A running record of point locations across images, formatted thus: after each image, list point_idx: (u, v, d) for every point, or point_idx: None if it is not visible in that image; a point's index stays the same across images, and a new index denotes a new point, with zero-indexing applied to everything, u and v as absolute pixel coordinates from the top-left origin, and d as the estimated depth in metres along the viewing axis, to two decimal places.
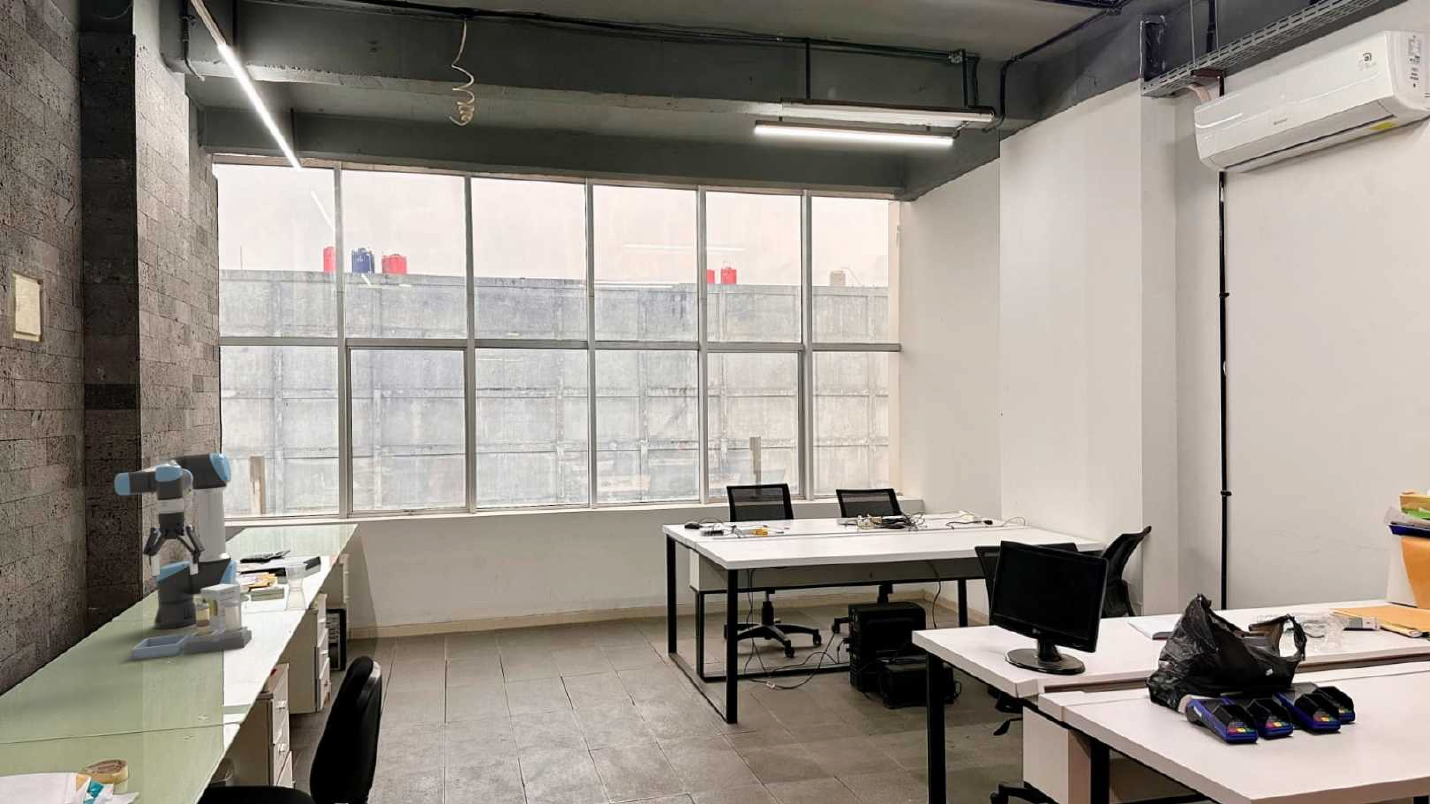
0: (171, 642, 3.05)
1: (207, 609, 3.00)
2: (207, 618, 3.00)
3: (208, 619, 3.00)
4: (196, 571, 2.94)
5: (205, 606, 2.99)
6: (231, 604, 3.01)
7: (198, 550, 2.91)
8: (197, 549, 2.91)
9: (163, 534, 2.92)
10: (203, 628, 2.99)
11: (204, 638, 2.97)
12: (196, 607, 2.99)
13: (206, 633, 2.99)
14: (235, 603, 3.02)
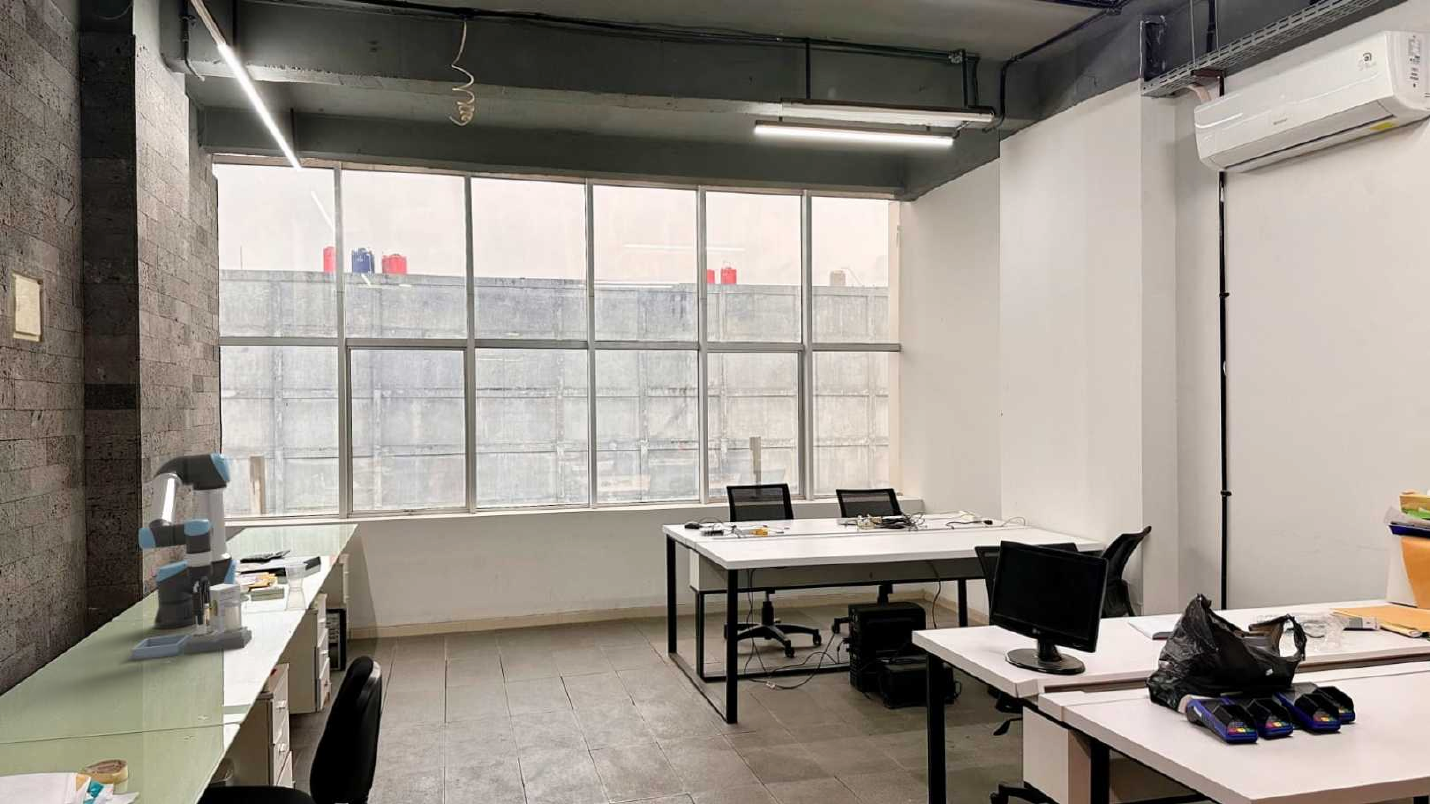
0: (171, 642, 3.05)
1: (207, 609, 3.00)
2: (207, 618, 3.00)
3: (208, 619, 3.00)
4: (203, 631, 2.98)
5: (205, 606, 2.99)
6: (231, 604, 3.01)
7: (193, 613, 2.95)
8: None
9: None
10: None
11: (204, 638, 2.97)
12: None
13: (206, 633, 2.99)
14: (235, 603, 3.02)
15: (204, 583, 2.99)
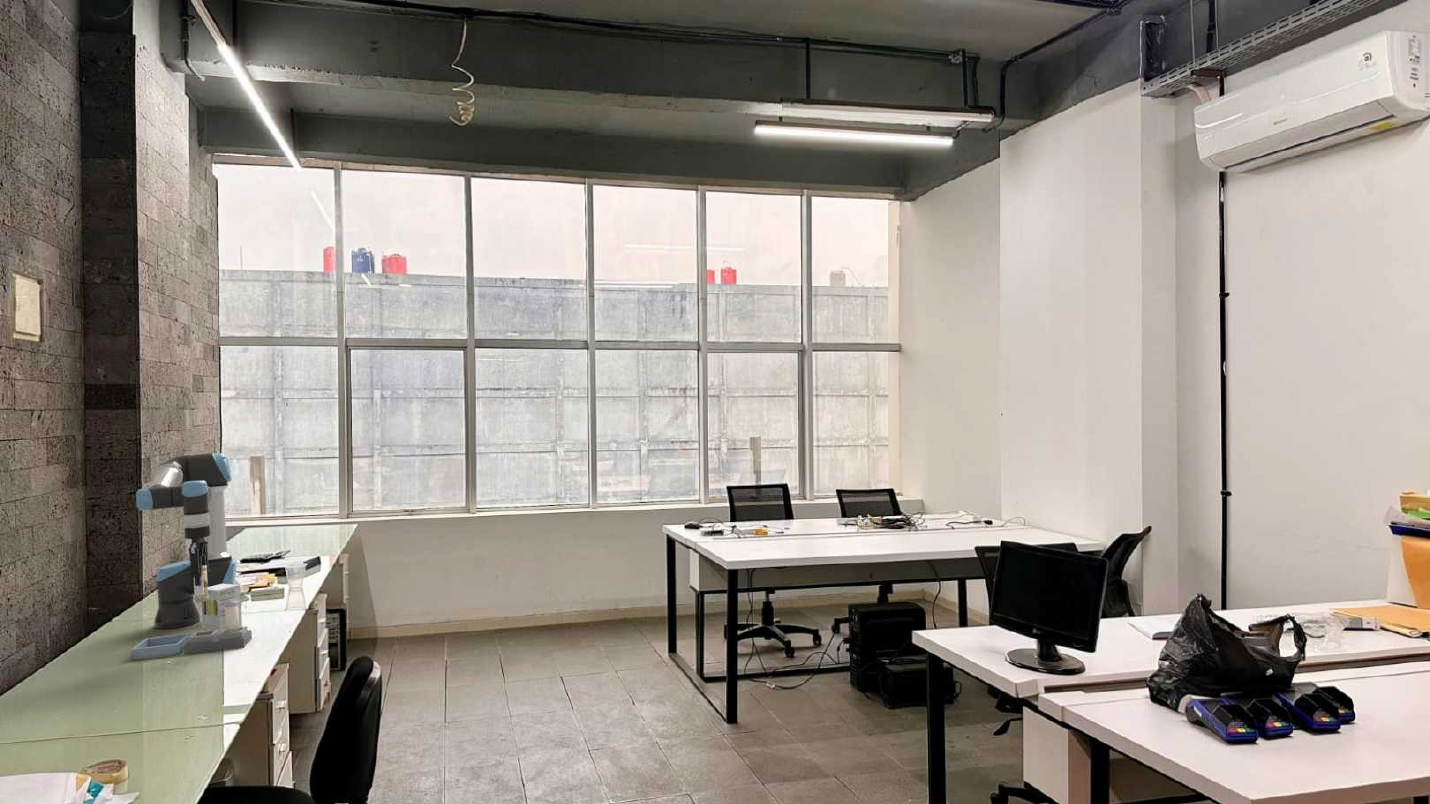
0: (171, 642, 3.05)
1: (205, 571, 3.00)
2: (205, 580, 3.00)
3: (206, 581, 3.00)
4: (201, 593, 2.98)
5: (203, 568, 2.99)
6: (231, 604, 3.01)
7: (191, 574, 2.95)
8: None
9: None
10: None
11: (204, 638, 2.97)
12: None
13: (204, 595, 2.99)
14: (235, 603, 3.02)
15: (202, 544, 2.99)
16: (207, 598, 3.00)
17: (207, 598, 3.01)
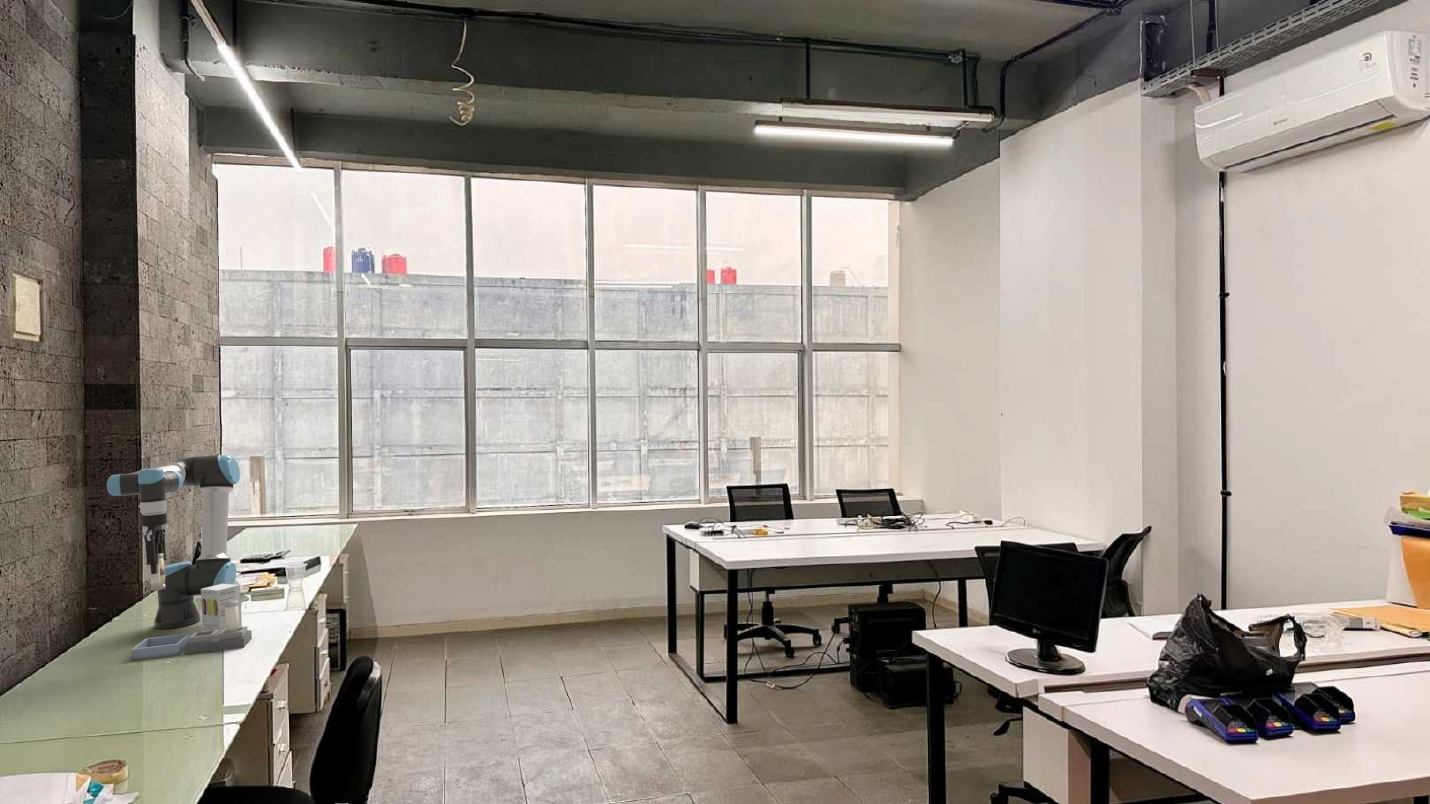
0: (171, 642, 3.05)
1: (161, 559, 2.98)
2: (161, 568, 2.98)
3: (162, 569, 2.98)
4: (157, 581, 2.96)
5: (159, 555, 2.97)
6: (231, 604, 3.01)
7: None
8: None
9: None
10: None
11: (204, 638, 2.97)
12: None
13: (160, 583, 2.97)
14: (235, 603, 3.02)
15: (158, 532, 2.97)
16: (164, 586, 2.98)
17: (164, 586, 2.98)
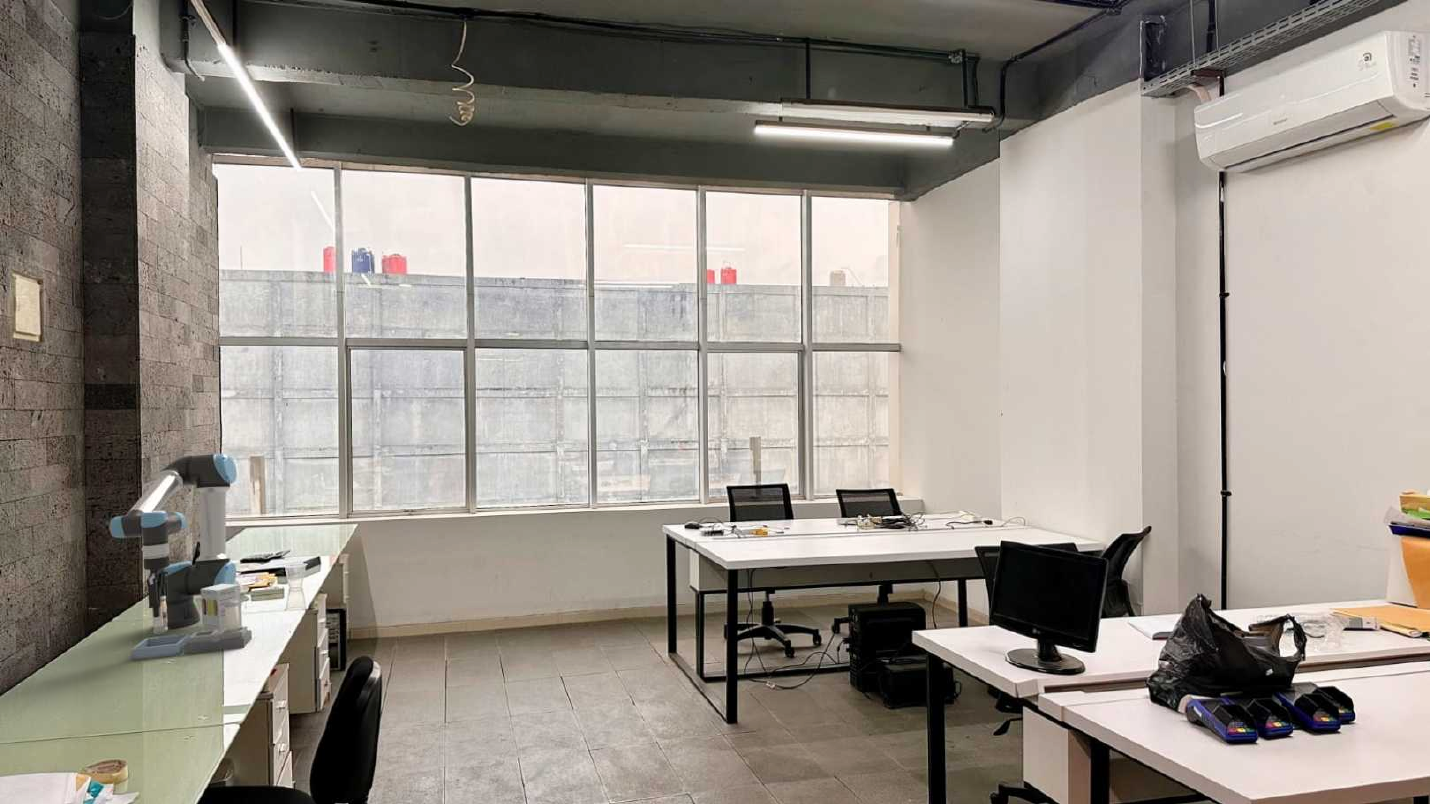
0: (171, 642, 3.05)
1: (164, 601, 2.98)
2: (164, 610, 2.98)
3: (165, 612, 2.98)
4: (159, 624, 2.96)
5: (161, 598, 2.97)
6: (231, 604, 3.01)
7: None
8: None
9: None
10: None
11: (204, 638, 2.97)
12: None
13: (162, 626, 2.97)
14: (235, 603, 3.02)
15: (161, 575, 2.97)
16: (166, 629, 2.98)
17: (166, 629, 2.99)
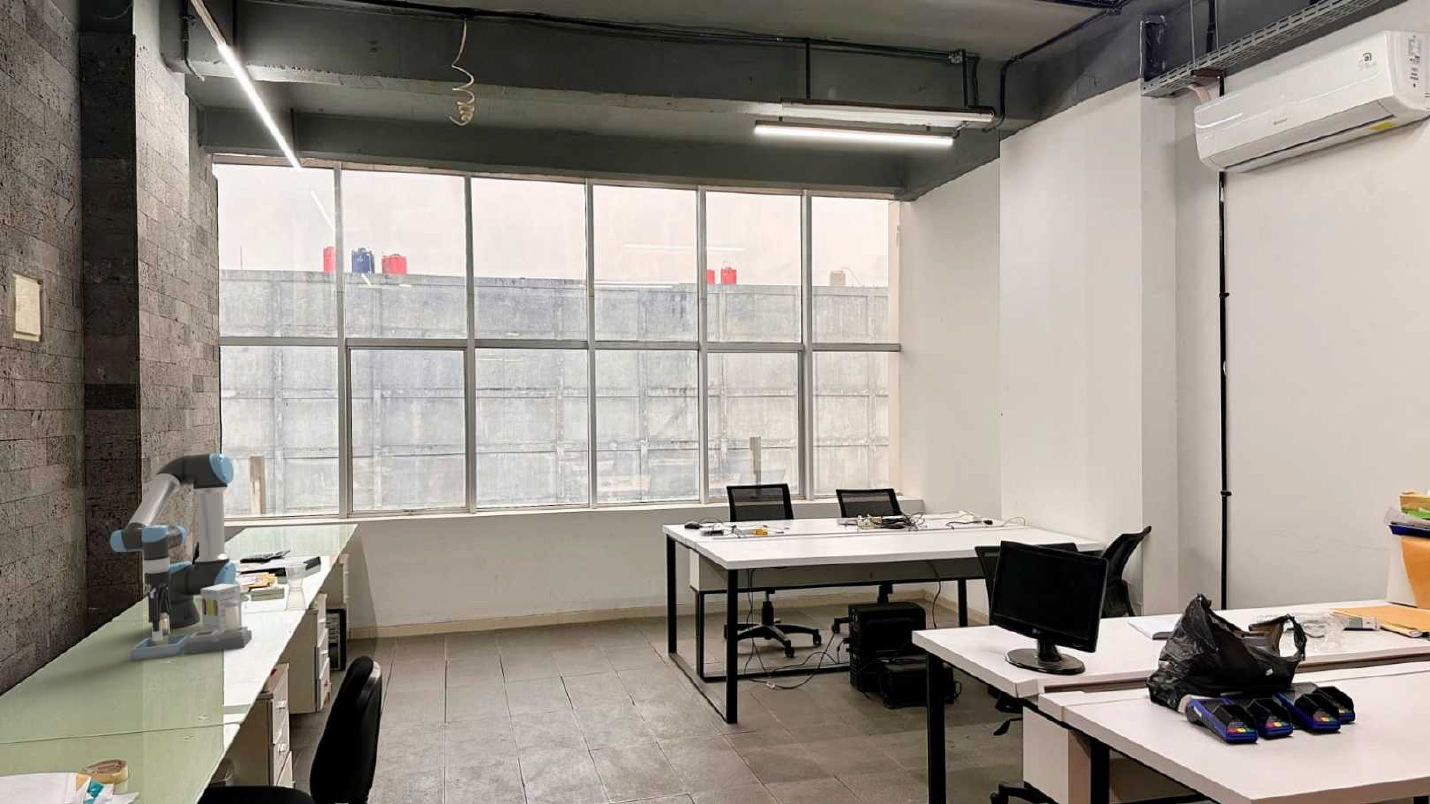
0: (171, 642, 3.05)
1: (165, 619, 2.98)
2: (165, 628, 2.98)
3: (166, 629, 2.99)
4: (159, 638, 2.95)
5: (163, 616, 2.97)
6: (231, 604, 3.01)
7: (149, 619, 2.92)
8: None
9: None
10: None
11: (204, 638, 2.97)
12: None
13: (164, 643, 2.98)
14: (235, 603, 3.02)
15: (162, 589, 2.97)
16: None
17: None
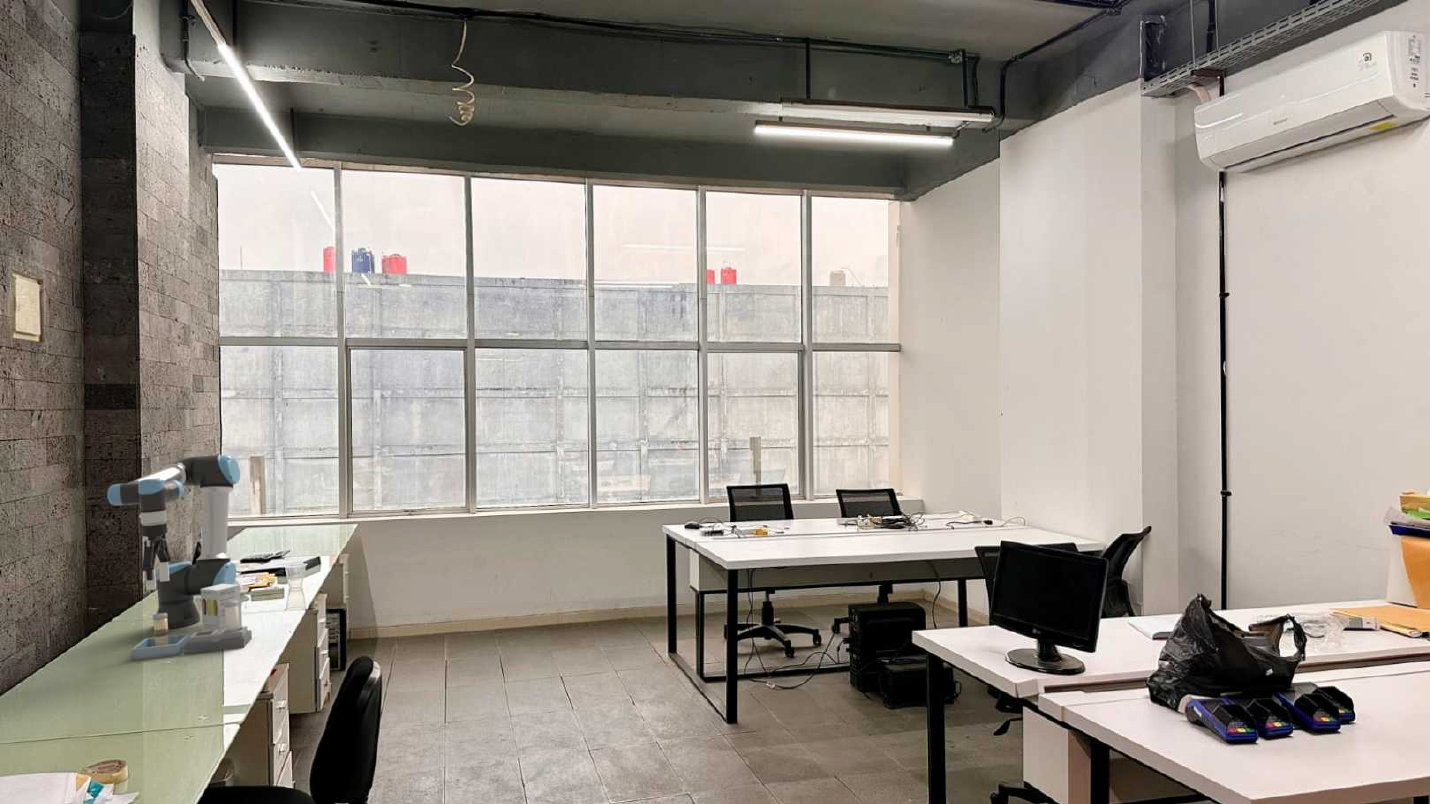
0: (171, 642, 3.05)
1: (165, 619, 2.98)
2: (165, 628, 2.98)
3: (166, 629, 2.99)
4: (152, 587, 2.92)
5: (163, 616, 2.98)
6: (231, 604, 3.01)
7: None
8: None
9: None
10: (161, 638, 2.97)
11: (204, 638, 2.97)
12: (154, 617, 2.97)
13: (164, 643, 2.98)
14: (235, 603, 3.02)
15: (158, 541, 2.97)
16: None
17: None
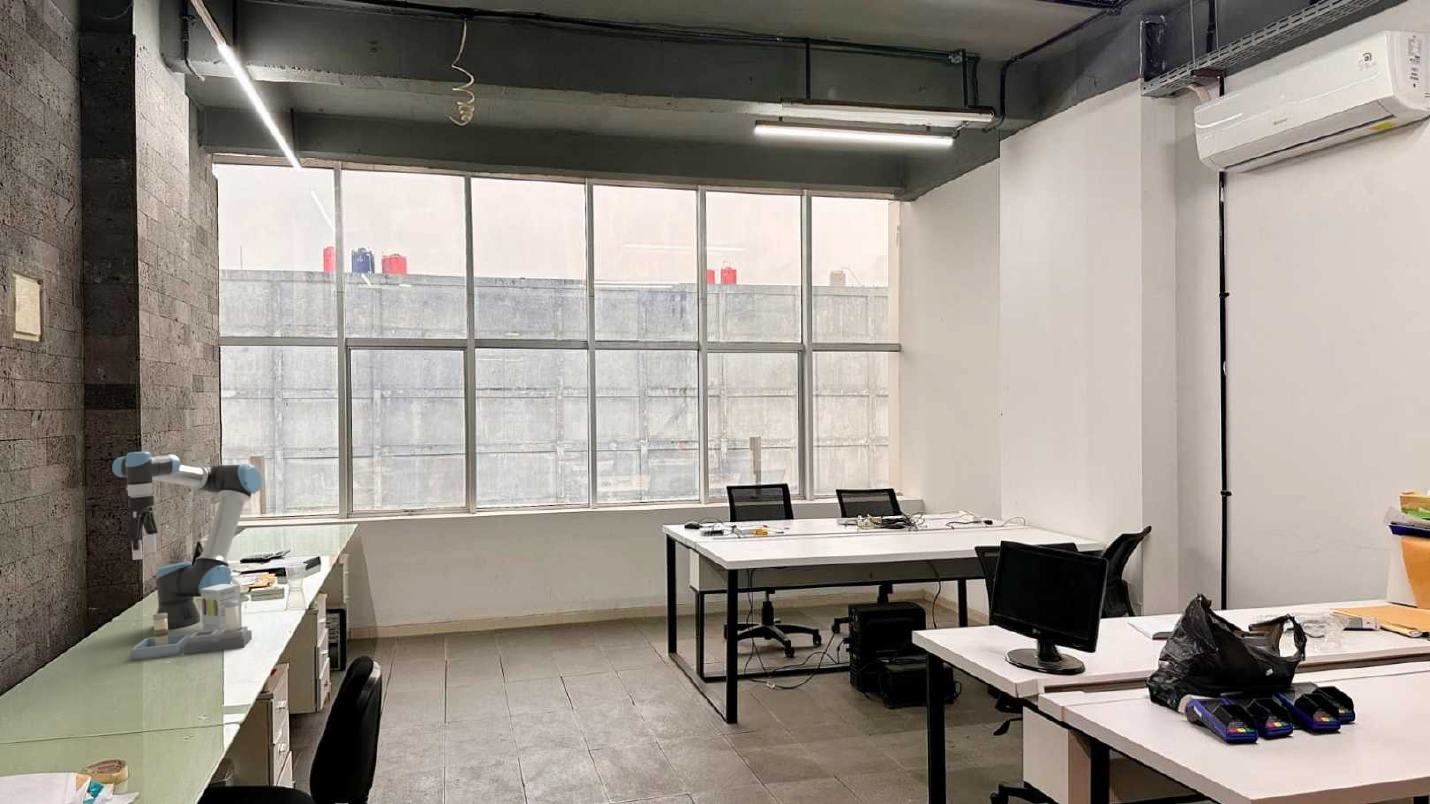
0: (171, 642, 3.05)
1: (165, 619, 2.98)
2: (165, 628, 2.98)
3: (166, 629, 2.99)
4: (139, 557, 3.00)
5: (163, 616, 2.98)
6: (231, 604, 3.01)
7: None
8: None
9: None
10: (161, 638, 2.97)
11: (204, 638, 2.97)
12: (154, 617, 2.97)
13: (164, 643, 2.98)
14: (235, 603, 3.02)
15: (145, 513, 3.05)
16: None
17: None
